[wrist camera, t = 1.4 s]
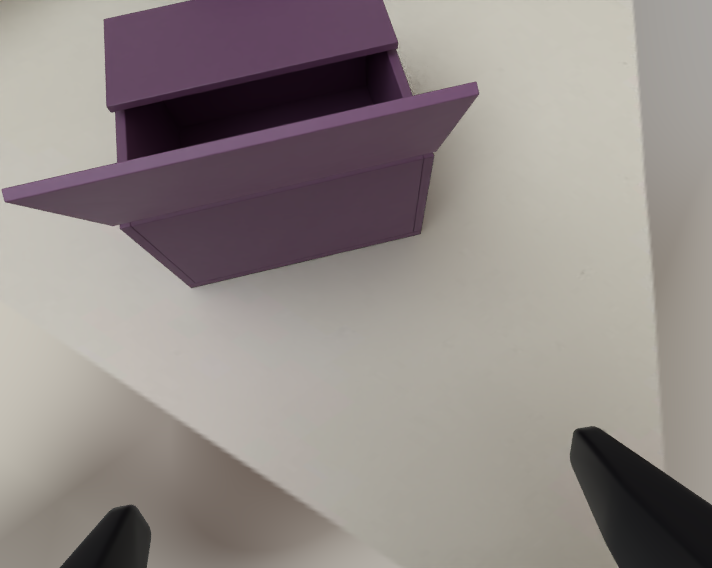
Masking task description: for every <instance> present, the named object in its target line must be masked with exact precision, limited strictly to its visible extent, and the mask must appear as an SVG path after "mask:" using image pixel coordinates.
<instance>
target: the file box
mask: <svg viewBox="0 0 712 568" xmlns="http://www.w3.org/2000/svg"><path fill="white" fill-rule="evenodd" d="M104 43H105V74H106V106H107V108H108V109H109V111H110V112H115V120H116V144H117V163H119V162H123V161H128V160H132V159H137V158H141V157H145V156H150V155H154V154H159V153H163V152H167V151H172V150H176V149H181V148H185V147H189V146H194V145H198V144H203V143H207V142H211V141H216V140H220V139H225V138H229V137H234V136H238V135H242V134H247V133H251V132H256V131H260V130H264V129H269V128H273V127H278V126H282V125H286V124H291V123H295V122H300V121H304V120H308V119H313V118H317V117H322V116H326V115H330V114H335V113H339V112H344V111H348V110H353V109H357V108H361V107H366V106H370V105H375V104H379V103H383V102H388V101H392V100H397V99H401V98H405V97H410V96H413V95H412V93H411V90H410V87H409V84H408V81H407V79H406V76H405V73H404V70H403V67H402V65H401V62H400V59H399V56H398V54H397V51H396V49H397V48H398V41H397V38H396V35H395V32H394V30H393V27H392V24H391V21H390V19H389V16H388V13H387V10H386V8H385V5H384V2H383V0H190V1H185V2H181V3H176V4H172V5H167V6H163V7H158V8H153V9H149V10H144V11H140V12H135V13H130V14H126V15H121V16H117V17H112V18H107V19H104ZM433 160H434V154H433V152H432V153H428V154H423V155H419V156H415V157H410V158H406V159H402V160H397V161H393V162H389V163H384V164H380V165H376V166H371V167H367V168H363V169H358V170H354V171H350V172H345V173H341V174H337V175H332V176H328V177H324V178H319V179H315V180H311V181H306V182H302V183H298V184H293V185H289V186H285V187H280V188H276V189H272V190H267V191H263V192H259V193H254V194H250V195H246V196H241V197H237V198H233V199H228V200H224V201H220V202H215V203H211V204H207V205H202V206H198V207H194V208H189V209H185V210H181V211H176V212H172V213H168V214H163V215H159V216H155V217H150V218H146V219H142V220H137V221H133V222H129V223H124V224H120V229H121V230H122V231H123V232H124V233H126V234H127V235H128V236H129V237H130V238H132V239H133V240H134V241H135V242H136V243H138V244H139V245H140V246H141V247H143V248H144V249H145V250H146V251H147V252H149V253H150V254H151V255H152V256H153V257H155V258H156V259H157V260H158V261H159V262H161V263H162V264H163V265H164V266H165V267H167V268H168V269H169V270H170V271H171V272H173V273H174V274H175V275H176V276H177V277H179V278H180V279H181V280H182V281H183V282H185V283H186V284H187V285H188V286H189V287H191V288H193V287H197V286H201V285H206V284H210V283H214V282H218V281H223V280H227V279H231V278H235V277H240V276H244V275H248V274H252V273H257V272H261V271H265V270H269V269H273V268H278V267H282V266H286V265H290V264H295V263H299V262H303V261H307V260H312V259H316V258H320V257H324V256H329V255H333V254H337V253H341V252H346V251H350V250H354V249H358V248H363V247H367V246H371V245H375V244H380V243H384V242H388V241H392V240H397V239H401V238H405V237H409V236H414V235H418V234H421V229H422V223H423V217H424V211H425V206H426V200H427V194H428V189H429V183H430V177H431V172H432V166H433Z"/></svg>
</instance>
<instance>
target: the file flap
mask: <svg viewBox="0 0 712 568" xmlns="http://www.w3.org/2000/svg"><path fill="white" fill-rule="evenodd" d="M478 95H479V91H478V86H477V82H472V83H467V84H463V85H458V86H454V87H450V88H445V89H441V90H436V91H432V92H427V93H423V94H419V95H414V96H410V97H405V98H401V99H397V100H392V101H388V102H383V103H379V104H375V105H370V106H366V107H361V108H357V109H353V110H348V111H344V112H339V113H335V114H330V115H326V116H322V117H317V118H313V119H308V120H304V121H300V122H295V123H291V124H286V125H282V126H278V127H273V128H269V129H264V130H260V131H256V132H251V133H247V134H242V135H238V136H234V137H229V138H225V139H220V140H216V141H211V142H207V143H203V144H198V145H194V146H189V147H185V148H181V149H176V150H172V151H167V152H163V153H159V154H154V155H150V156H145V157H141V158H137V159H132V160H128V161H123V162H119V163H115V164H110V165H106V166H101V167H97V168H92V169H88V170H84V171H79V172H75V173H70V174H66V175H62V176H57V177H53V178H48V179H44V180H40V181H35V182H31V183H26V184H22V185H18V186H13V187H9V188H4V189H2V193H3V197H4V201H5V202H7V203H11V204H16V205H20V206H25V207H29V208H34V209H38V210H43V211H47V212H52V213H56V214H61V215H65V216H70V217H74V218H79V219H83V220H88V221H92V222H97V223H101V224H106V225H110V226H116V225H120V224H124V223H129V222H133V221H137V220H142V219H146V218H150V217H155V216H159V215H163V214H168V213H172V212H176V211H181V210H185V209H189V208H194V207H198V206H202V205H207V204H211V203H215V202H220V201H224V200H228V199H233V198H237V197H241V196H246V195H250V194H254V193H259V192H263V191H267V190H272V189H276V188H280V187H285V186H289V185H293V184H298V183H302V182H306V181H311V180H315V179H319V178H324V177H328V176H332V175H337V174H341V173H345V172H350V171H354V170H358V169H363V168H367V167H371V166H376V165H380V164H384V163H389V162H393V161H397V160H402V159H406V158H410V157H415V156H419V155H423V154H428V153H432V152H436V151H437V150H438V148H439V147H440V146H441V144H442V143H443V142H444V140H445V139H446V138H447V136H448V135H449V134H450V132H451V131H452V130H453V128H454V127H455V126H456V124H457V123H458V122H459V120H460V119H461V118H462V116H463V115H464V114H465V112H466V111H467V110H468V108H469V107H470V106H471V104H472V103H473V102H474V100H475V99H476V98H477V96H478Z"/></svg>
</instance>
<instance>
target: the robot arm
mask: <svg viewBox="0 0 712 568" xmlns="http://www.w3.org/2000/svg"><path fill="white" fill-rule="evenodd" d="M570 461H571V465H572V467H573V470H574V472H575V474H576V477H577V479H578V481H579V484H580V486H581V488H582V490H583V493H584V495H585V497H586V500H587V502H588V504H589V506H590V509H591V511H592V513H593V516H594V518H595V520H596V523H597V525H598V527H599V529H600V532H601V534H602V536H603V538H604V540H605V542H606V544H607V546H608V548H609V550H610V552H611V554H612V556H613V558H614V559H615V561H616V563H617V565H618V567H619V568H712V505H711V504H710V503H708V502H706V501H705V500H704V499H702V498H701V497H699V496H698V495H696V494H695V493H693V492H692V491H690V490H689V489H688V488H686V487H684V486H683V485H682V484H680V483H679V482H677V481H676V480H674V479H673V478H671V477H670V476H668V475H667V474H666V473H664V472H663V471H661V470H660V469H658V468H657V467H655V466H654V465H652V464H651V463H649V462H648V461H646V460H645V459H644V458H642V457H641V456H639V455H638V454H636V453H635V452H633V451H632V450H630V449H629V448H627V447H626V446H624V445H623V444H622V443H620V442H619V441H617V440H616V439H614V438H613V437H611V436H610V435H608V434H607V433H605V432H604V431H602V430H601V429H599V428H597V427H594V426H590V427H584V428H579V429H576V430H575V431H574V433H573V438H572V444H571V451H570ZM150 542H151V531H150V527H149V525H148V523H147V522H146V521H145V519H144V517H143V516H142V514H141V513H140V511H139V510H138V508H137V507H136V506H134V505H126V506H120V507H116V508H113V509H112V510H110V511H109V512H108V513H107V514H106V515H105V517H104V518H103V519H102V520H101V521H100V522H99V523H98V525H97V526H96V527H95V528H94V529H93V530H92V531H91V533H90V534H89V535H88V536H87V537H86V538H85V539H84V541H83V542H82V543H81V544H80V545H79V546H78V548H77V549H76V550H75V551H74V552H73V553H72V554H71V556H70V557H69V558H68V559H67V560H66V561H65V563H63V565H62V566H61V567H60V568H147V562H148V554H149V548H150Z"/></svg>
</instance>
